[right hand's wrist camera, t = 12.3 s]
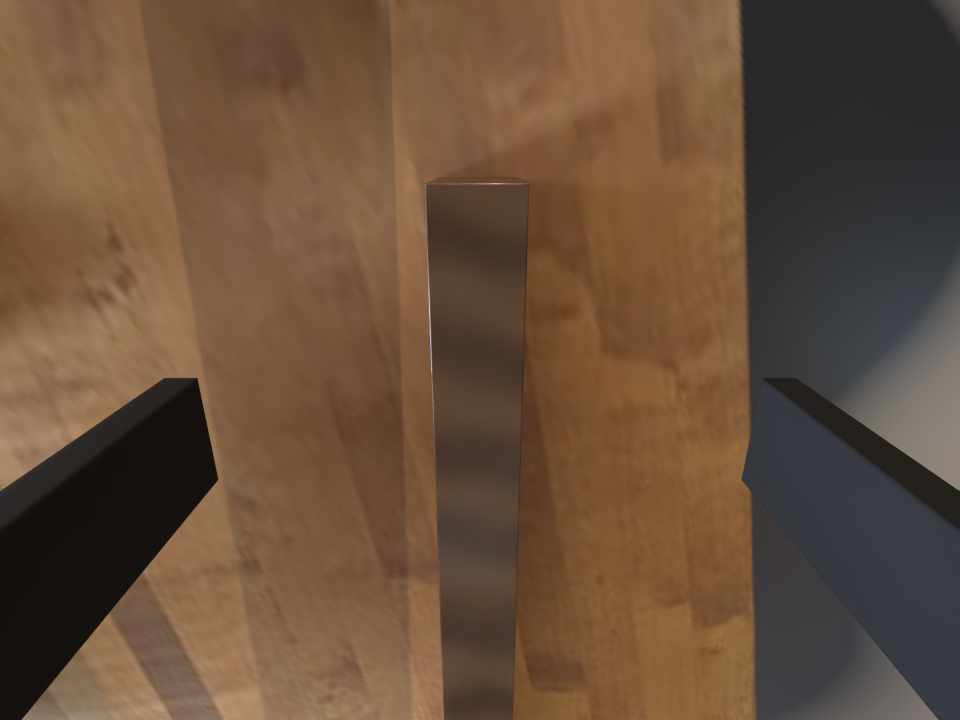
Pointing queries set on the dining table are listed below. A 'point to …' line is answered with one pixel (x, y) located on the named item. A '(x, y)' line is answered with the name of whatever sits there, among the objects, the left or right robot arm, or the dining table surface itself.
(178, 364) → the dining table surface
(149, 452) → the right robot arm
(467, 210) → the bar
